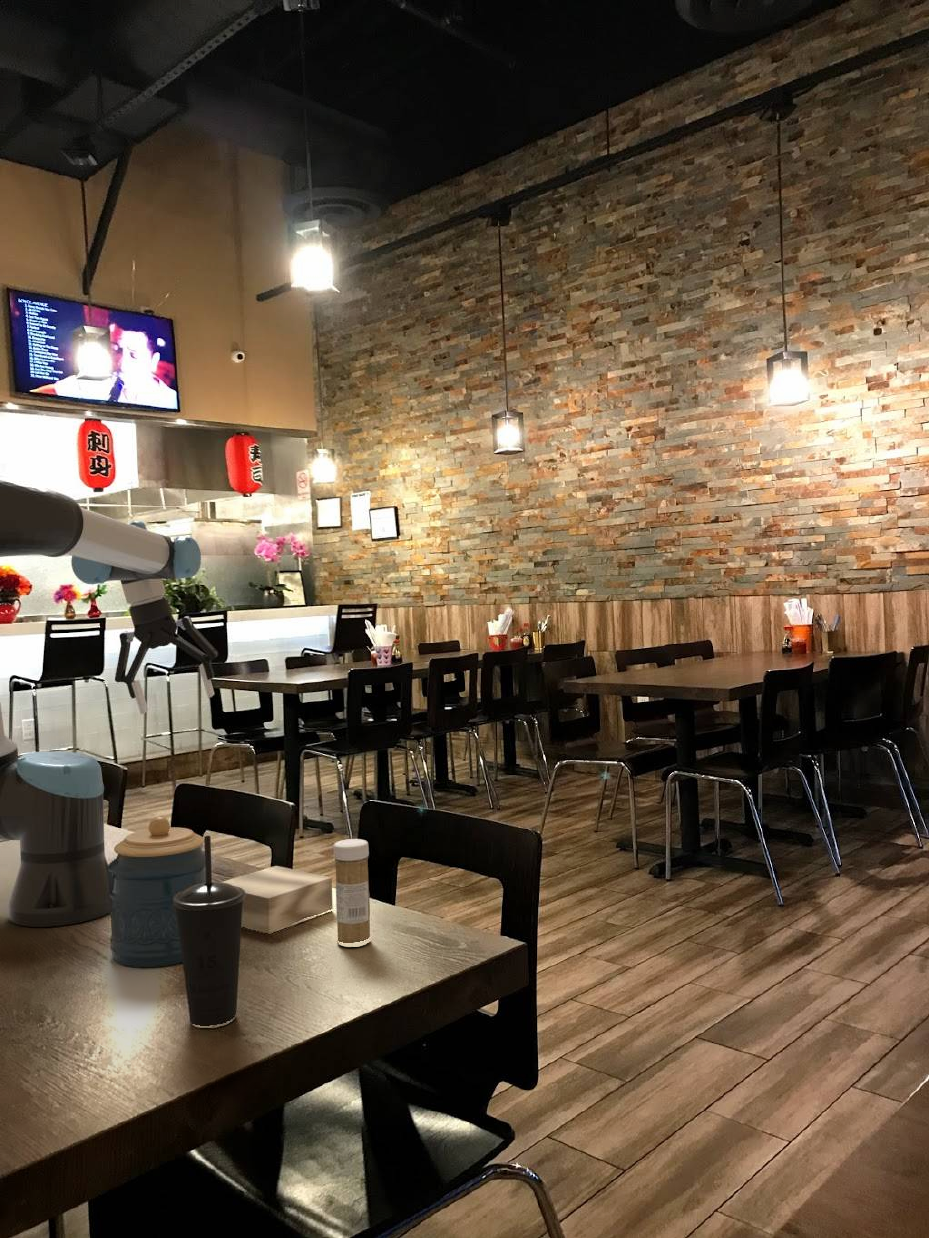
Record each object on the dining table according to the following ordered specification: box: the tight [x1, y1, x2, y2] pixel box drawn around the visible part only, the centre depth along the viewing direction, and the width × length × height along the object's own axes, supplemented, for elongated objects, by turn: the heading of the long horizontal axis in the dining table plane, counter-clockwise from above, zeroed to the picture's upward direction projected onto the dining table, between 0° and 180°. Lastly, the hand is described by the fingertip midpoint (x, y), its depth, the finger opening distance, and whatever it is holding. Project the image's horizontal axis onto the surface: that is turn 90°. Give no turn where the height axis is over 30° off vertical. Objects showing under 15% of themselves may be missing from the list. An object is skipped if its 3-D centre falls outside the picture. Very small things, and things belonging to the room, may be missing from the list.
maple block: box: [222, 865, 334, 935], centre depth 143 cm, size 12×12×5 cm
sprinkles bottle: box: [333, 838, 371, 943], centre depth 130 cm, size 5×5×13 cm
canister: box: [108, 816, 213, 968], centre depth 129 cm, size 13×13×18 cm
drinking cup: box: [172, 835, 245, 1026], centre depth 107 cm, size 8×8×20 cm
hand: (178, 704), depth 196 cm, fingers open, 13 cm apart
